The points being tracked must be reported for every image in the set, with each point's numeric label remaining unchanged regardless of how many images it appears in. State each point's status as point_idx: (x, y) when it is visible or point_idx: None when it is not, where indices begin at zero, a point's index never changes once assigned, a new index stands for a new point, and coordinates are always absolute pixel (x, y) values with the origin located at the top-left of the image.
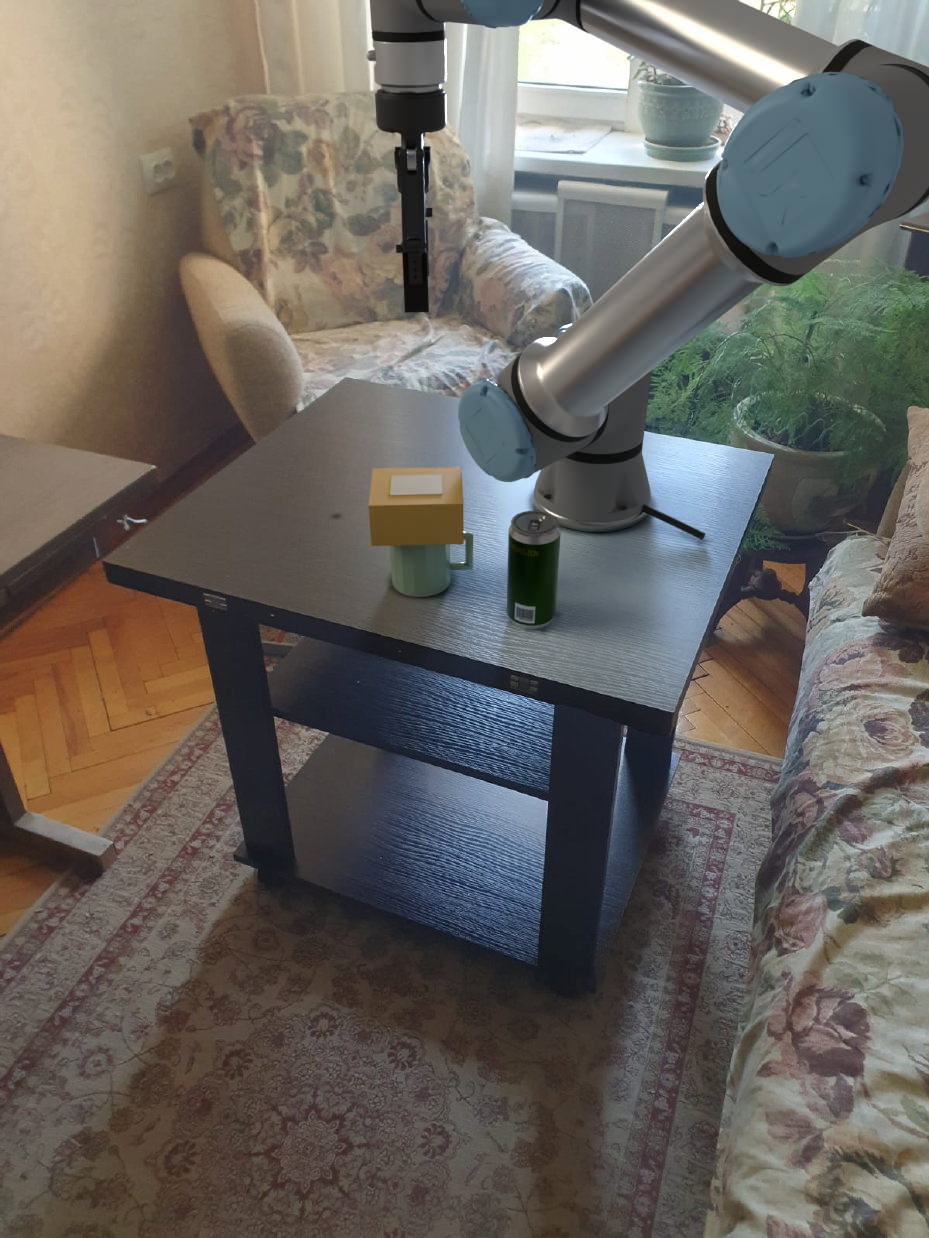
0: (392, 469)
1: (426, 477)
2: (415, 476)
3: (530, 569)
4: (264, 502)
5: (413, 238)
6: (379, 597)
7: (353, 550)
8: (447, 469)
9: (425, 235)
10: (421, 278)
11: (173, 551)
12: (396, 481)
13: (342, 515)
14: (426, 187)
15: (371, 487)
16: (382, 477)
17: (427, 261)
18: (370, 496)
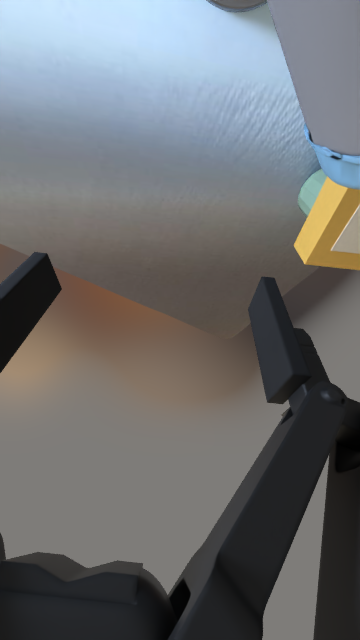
0: (317, 248)
1: (357, 217)
2: (347, 228)
3: None
4: (182, 289)
5: (15, 329)
6: None
7: (257, 240)
8: (353, 191)
9: (300, 414)
10: (311, 340)
11: (225, 323)
12: (345, 247)
13: (207, 245)
14: (257, 621)
15: (340, 267)
16: (327, 257)
17: (303, 354)
18: (356, 269)
